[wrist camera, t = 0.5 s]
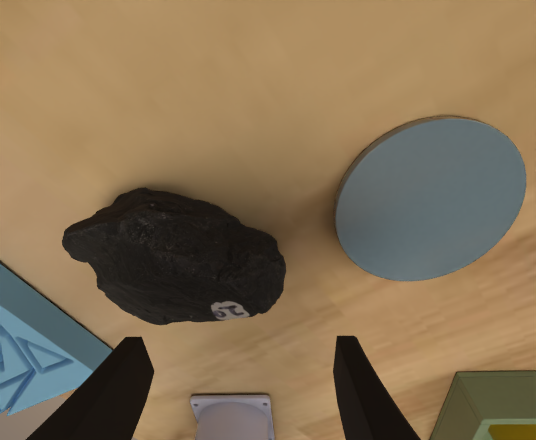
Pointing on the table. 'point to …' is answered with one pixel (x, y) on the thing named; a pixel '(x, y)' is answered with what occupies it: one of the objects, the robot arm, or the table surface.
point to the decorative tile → (40, 347)
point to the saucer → (429, 198)
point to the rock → (178, 259)
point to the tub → (486, 404)
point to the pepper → (512, 431)
